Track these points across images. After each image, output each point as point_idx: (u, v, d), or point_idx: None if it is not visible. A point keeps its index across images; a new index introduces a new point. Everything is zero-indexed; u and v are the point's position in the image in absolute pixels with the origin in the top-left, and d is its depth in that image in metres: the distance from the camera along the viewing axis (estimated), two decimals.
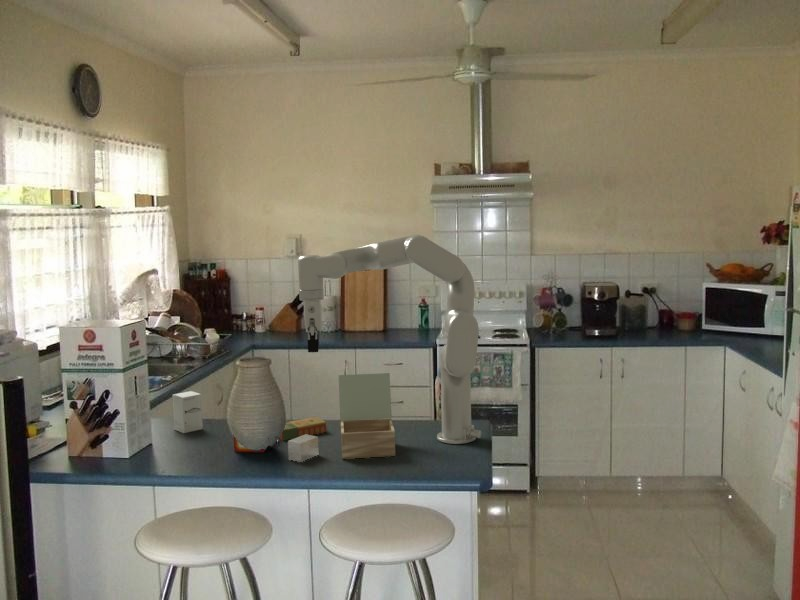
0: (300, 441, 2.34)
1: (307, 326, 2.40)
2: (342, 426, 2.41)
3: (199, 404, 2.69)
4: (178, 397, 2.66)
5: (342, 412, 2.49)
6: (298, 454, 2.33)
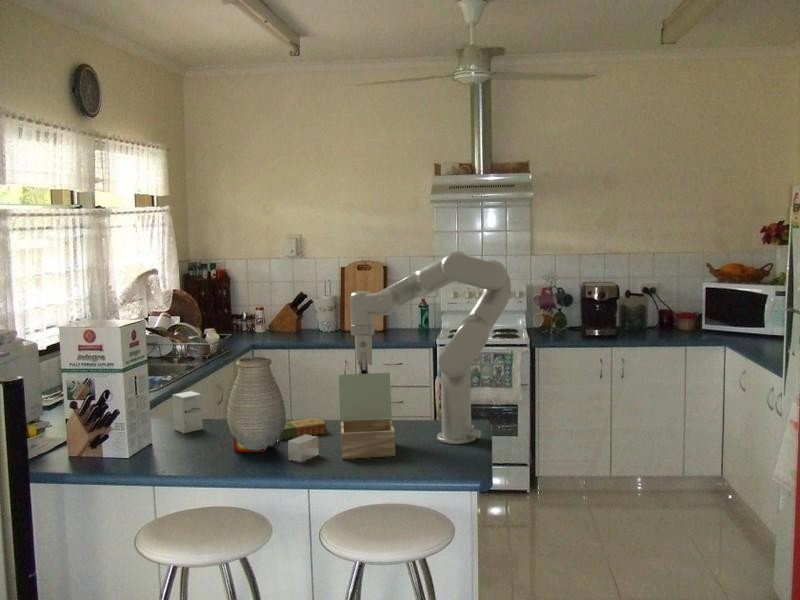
0: (300, 441, 2.34)
1: (359, 365, 2.50)
2: (342, 426, 2.41)
3: (199, 404, 2.69)
4: (178, 397, 2.66)
5: (342, 412, 2.48)
6: (298, 454, 2.33)
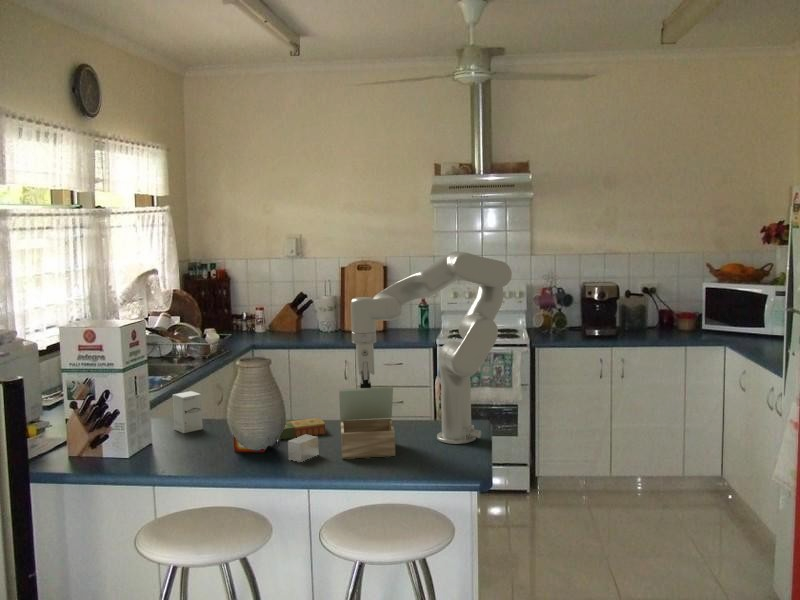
0: (300, 441, 2.34)
1: (360, 375, 2.39)
2: (342, 426, 2.41)
3: (199, 404, 2.69)
4: (178, 397, 2.66)
5: (342, 415, 2.46)
6: (298, 454, 2.33)
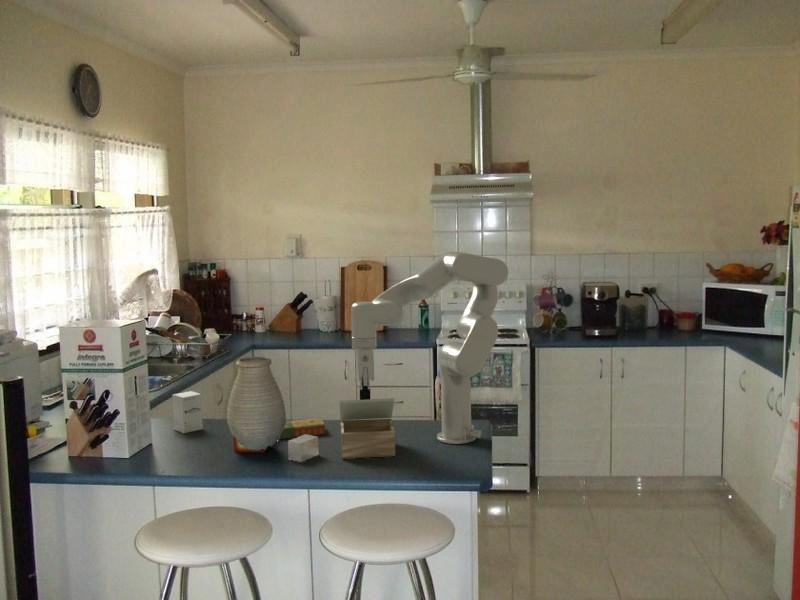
0: (300, 441, 2.34)
1: (360, 381, 2.35)
2: (342, 426, 2.41)
3: (199, 404, 2.69)
4: (178, 397, 2.66)
5: (342, 417, 2.46)
6: (298, 454, 2.33)
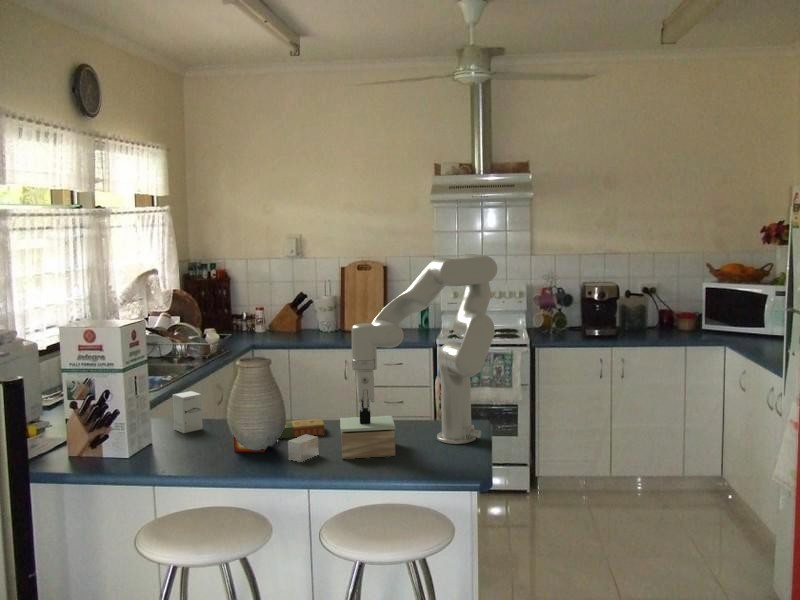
0: (300, 441, 2.34)
1: (360, 402, 2.36)
2: None
3: (199, 404, 2.69)
4: (178, 397, 2.66)
5: None
6: (298, 454, 2.33)
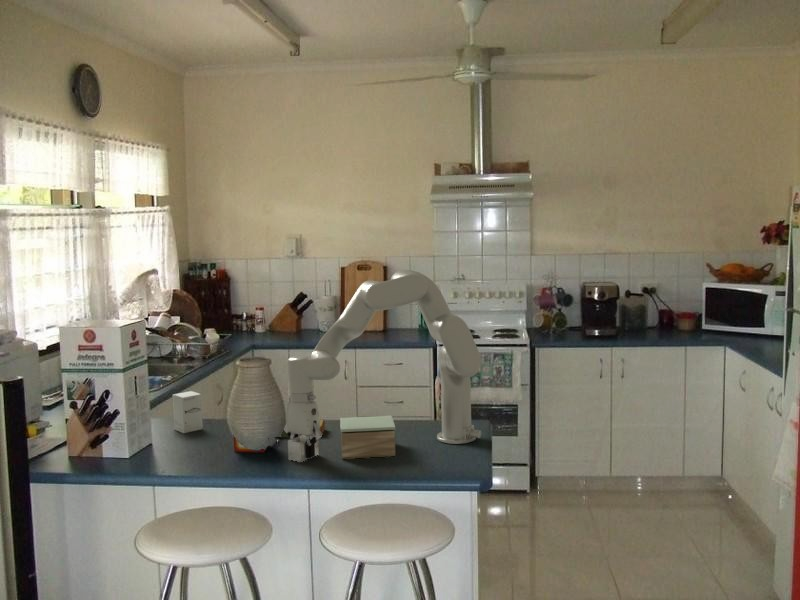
0: (300, 441, 2.34)
1: None
2: None
3: (199, 404, 2.69)
4: (178, 397, 2.66)
5: None
6: (298, 454, 2.33)
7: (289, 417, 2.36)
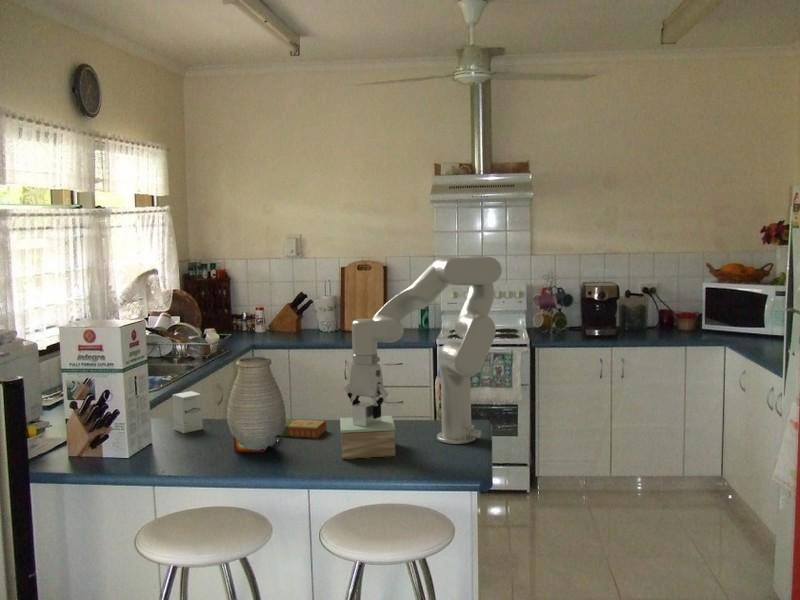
0: (364, 406, 2.38)
1: (375, 393, 2.36)
2: None
3: (199, 404, 2.69)
4: (178, 397, 2.66)
5: None
6: (363, 418, 2.37)
7: (353, 379, 2.40)
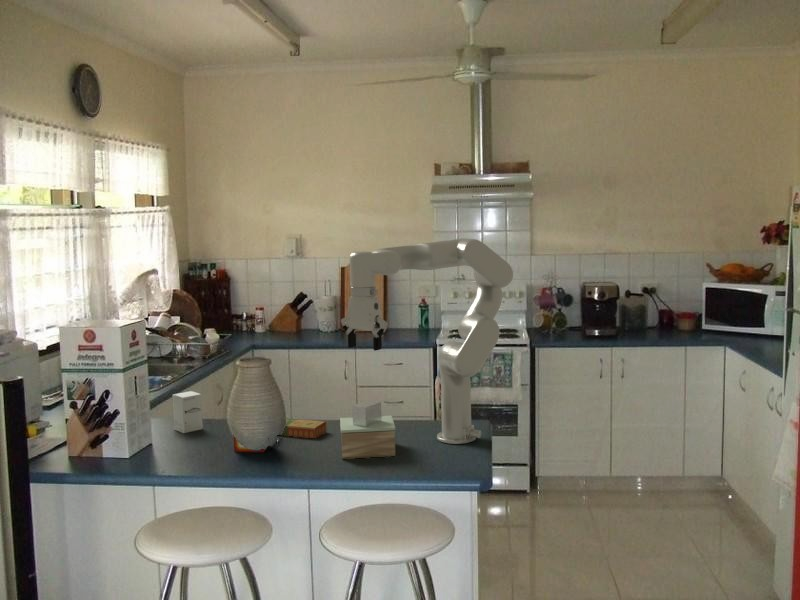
0: (364, 406, 2.38)
1: (374, 324, 2.34)
2: None
3: (199, 404, 2.69)
4: (178, 397, 2.66)
5: None
6: (363, 418, 2.37)
7: (351, 313, 2.37)
